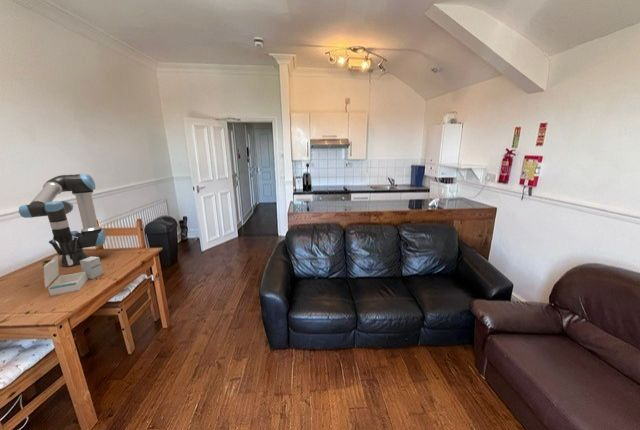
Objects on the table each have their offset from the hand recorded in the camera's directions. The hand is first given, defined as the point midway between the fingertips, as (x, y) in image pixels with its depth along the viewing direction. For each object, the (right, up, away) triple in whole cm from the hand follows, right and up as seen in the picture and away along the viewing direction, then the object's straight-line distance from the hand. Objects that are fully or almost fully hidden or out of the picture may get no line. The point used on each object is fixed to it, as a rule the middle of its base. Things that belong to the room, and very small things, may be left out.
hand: (70, 264), depth 160 cm
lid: (-7, -3, -3) cm, 8 cm away
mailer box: (-3, -14, +2) cm, 15 cm away
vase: (-20, -13, +9) cm, 25 cm away
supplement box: (+1, -11, +16) cm, 19 cm away
